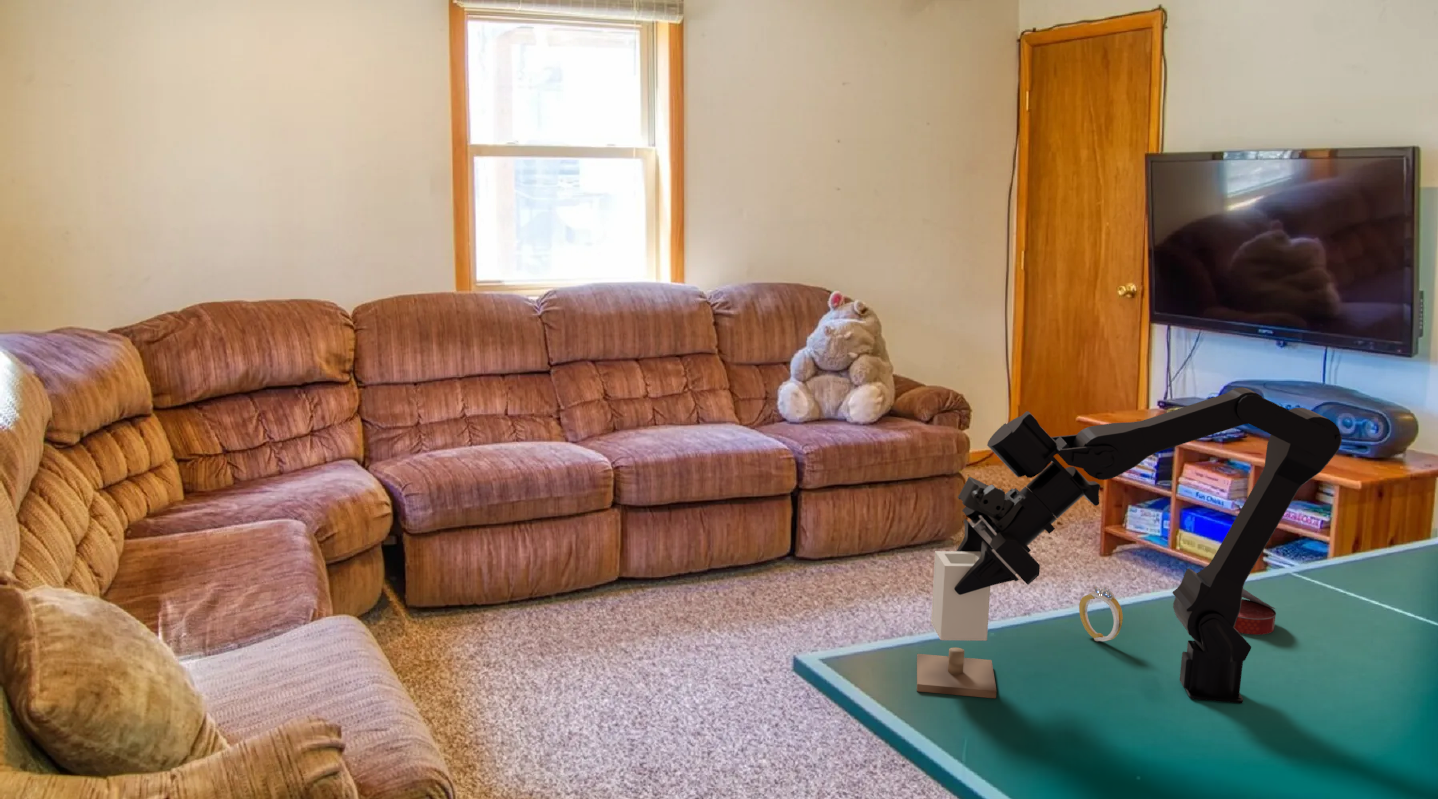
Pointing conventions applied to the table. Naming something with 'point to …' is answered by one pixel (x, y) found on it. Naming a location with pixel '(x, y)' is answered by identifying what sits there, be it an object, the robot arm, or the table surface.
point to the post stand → (955, 675)
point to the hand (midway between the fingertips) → (951, 583)
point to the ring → (1115, 608)
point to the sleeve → (958, 599)
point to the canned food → (1255, 616)
